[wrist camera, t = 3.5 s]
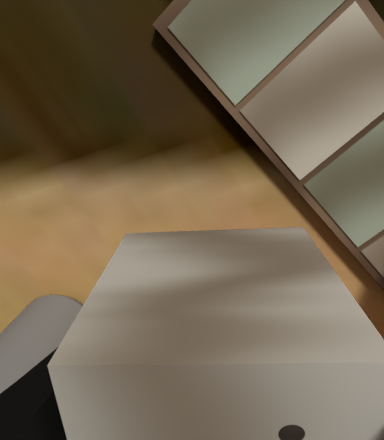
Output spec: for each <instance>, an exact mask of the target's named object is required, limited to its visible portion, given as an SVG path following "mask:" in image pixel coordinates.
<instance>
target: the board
mask: <svg viewBox="0 0 384 440" xmlns="http://www.w3.org/2000/svg"><path fill="white" fill-rule="evenodd" d="M152 25H153V26H154V27H155V28H156V29H157V31H158V32H159V33H160V34H161V35H162V36H163V37H164V39H165V40H166V41H167V42H168V43H169V44H170V45H171V47H172V48H173V49H174V50H175V51H176V52H177V54H178V55H179V56H180V57H181V58H182V59H183V60H184V62H185V63H186V64H187V65H188V66H189V67H190V68H191V70H192V71H193V72H194V73H195V74H196V75H197V76H198V78H199V79H200V80H201V81H202V82H203V83H204V84H205V86H206V87H207V88H208V89H209V90H210V91H211V92H212V94H213V95H214V96H215V97H216V98H217V99H218V101H219V102H220V103H221V104H222V105H223V106H224V107H225V109H226V110H227V111H228V112H229V113H230V114H231V115H232V117H233V118H234V119H235V120H236V121H237V122H238V123H239V125H240V126H241V127H242V128H243V129H244V130H245V131H246V133H247V134H248V135H249V136H250V137H251V138H252V139H253V141H254V142H255V143H256V144H257V145H258V146H259V148H260V149H261V150H262V151H263V152H264V153H265V154H266V156H267V157H268V158H269V159H270V160H271V161H272V162H273V164H274V165H275V166H276V167H277V168H278V169H279V170H280V172H281V173H282V174H283V175H284V176H285V177H286V178H287V180H288V181H289V182H290V183H291V184H292V185H293V186H294V188H295V189H296V190H297V191H298V192H299V193H300V195H301V196H302V197H303V198H304V199H305V200H306V201H307V203H308V204H309V205H310V206H311V207H312V208H313V209H314V211H315V212H316V213H317V214H318V215H319V216H320V217H321V219H322V220H323V221H324V222H325V223H326V224H327V225H328V227H329V228H330V229H331V230H332V231H333V232H334V234H335V235H336V236H337V237H338V238H339V239H340V240H341V242H342V243H343V244H344V245H345V246H346V247H347V248H348V250H349V251H350V252H351V253H352V254H353V255H354V256H355V258H356V259H357V260H358V261H359V262H360V263H361V264H362V266H363V267H364V268H365V269H366V270H367V271H368V272H369V274H370V275H371V276H372V277H373V278H374V279H375V281H376V282H377V283H378V284H379V285H380V286H381V287H382V289H383V290H384V22H383V21H382V19H381V18H380V16H379V15H378V14H377V12H376V11H375V9H374V8H373V7H372V5H371V4H370V2H369V1H368V0H173V1H172V2H171V4H170V5H169V6H168V7H167V8H166V9H165V10H164V12H163V13H162V14H161V15H160V16H159V17H158V19H157V20H156V21H155V22H154V23H153V24H152Z"/></svg>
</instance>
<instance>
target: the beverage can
mask: <svg viewBox="0 0 384 440" xmlns="http://www.w3.org/2000/svg"><path fill="white" fill-rule="evenodd" d="M82 306H83V304H81V303H80V302H78V301H77V300H75V299H72V298H70V297H67V296H61V295H45V296H42V297H39V298H37V299H35V300H34V301H32V302H31V303H30V304H29V305H28V306H27V307H26V308H25V309H24V310H23V311H22V312H21V313H20V314H19V315H18V316H17V317H16V318H15V319H14V320H13V321H12V322H11V323H10V324H9V325H8V326H7V327H6V328H5V329H4V330H3V331H2V332H1V333H0V393H2V392H3V391H4V390H6V389H7V388H8V387H9V386H11V385H12V384H13V383H15V382H16V381H17V380H19V379H20V378H21V377H22V376H23V375H25V374H26V373H27V372H28V371H30V370H31V369H32V368H33V367H34V366H36V365H37V364H38V363H39V362H41V361H42V360H43V359H44V358H45V357H47V356H48V355H49V354H50V353H51V352H53V351H54V350H55V349H56V348H57V347H59V345H60V343H61V342H62V340H63V338H64V337H65V335H66V333H67V332H68V330H69V328H70V327H71V325H72V323H73V322H74V320H75V318H76V317H77V315H78V313H79V312H80V310H81V308H82Z"/></svg>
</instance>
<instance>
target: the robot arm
mask: <svg viewBox="0 0 384 440" xmlns="http://www.w3.org/2000/svg"><path fill="white" fill-rule="evenodd" d="M57 348H58V347H57ZM57 348H56V349H55V350H54V351H53V352H51V353H50V354H49V355H48V356H47V357H45V358H44V359H43V360H42V361H41V362H39V363H38V364H37V365H36V366H34V367H33V368H32V369H31V370H30V371H28V372H27V373H26V374H25V375H23V376H22V377H21V378H20V379H19V380H17V381H16V382H15V383H13V384H12V385H11V386H9V387H8V388H7V389H6V390H4V391H3V392H2V393H0V440H67V438H66V434H65V430H64V426H63V423H62V419H61V415H60V411H59V408H58V404H57V400H56V396H55V393H54V389H53V385H52V381H51V378H50V374H49V370H48V366H47V365H48V364H49V362H50V360H51V358H52V357H53V355H54V353H55V352H56V350H57Z"/></svg>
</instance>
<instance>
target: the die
mask: <svg viewBox="0 0 384 440" xmlns="http://www.w3.org/2000/svg"><path fill="white" fill-rule="evenodd" d="M47 366H48V370H49V374H50V378H51V381H52V385H53V389H54V393H55V396H56V400H57V404H58V408H59V411H60V415H61V419H62V423H63V426H64V430H65V434H66V438H67V440H384V339H383V338H382V336H381V335H380V334H379V332H378V331H377V329H376V328H375V327H374V325H373V324H372V322H371V321H370V320H369V318H368V317H367V315H366V314H365V313H364V311H363V310H362V308H361V307H360V306H359V304H358V303H357V301H356V300H355V299H354V297H353V296H352V294H351V293H350V292H349V290H348V289H347V287H346V286H345V285H344V283H343V282H342V280H341V279H340V278H339V276H338V275H337V273H336V272H335V271H334V269H333V268H332V266H331V265H330V264H329V262H328V261H327V260H326V258H325V257H324V255H323V254H322V253H321V251H320V250H319V248H318V247H317V246H316V244H315V243H314V241H313V240H312V239H311V237H310V236H309V234H308V233H307V232H306V230H305V229H304V227H292V228H264V229H236V230H208V231H180V232H152V233H126V234H125V236H124V238H123V239H122V241H121V243H120V244H119V246H118V248H117V249H116V251H115V253H114V255H113V256H112V258H111V260H110V261H109V263H108V265H107V266H106V268H105V270H104V271H103V273H102V275H101V276H100V278H99V280H98V281H97V283H96V285H95V286H94V288H93V290H92V291H91V293H90V295H89V296H88V298H87V300H86V301H85V303H84V305H83V306H82V308H81V310H80V312H79V313H78V315H77V317H76V318H75V320H74V322H73V323H72V325H71V327H70V328H69V330H68V332H67V333H66V335H65V337H64V338H63V340H62V342H61V343H60V345H59V347H58V348H57V350H56V352H55V353H54V355H53V357H52V358H51V360H50V362H49V364H48V365H47Z"/></svg>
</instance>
